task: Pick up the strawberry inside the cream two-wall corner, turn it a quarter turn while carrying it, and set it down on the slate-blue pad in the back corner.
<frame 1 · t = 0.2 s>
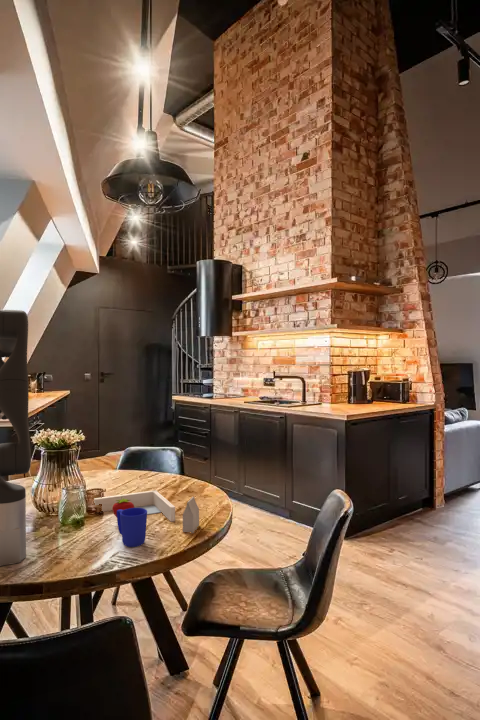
hand: (7, 435, 174), 29 cm above the table, tool pointing down, fingers open, 8 cm apart
strawberry: (123, 524, 163), on the table
grey house-shaped block: (191, 529, 157), on the table
corner arena: (133, 516, 171), on the table
mug: (130, 543, 146), on the table
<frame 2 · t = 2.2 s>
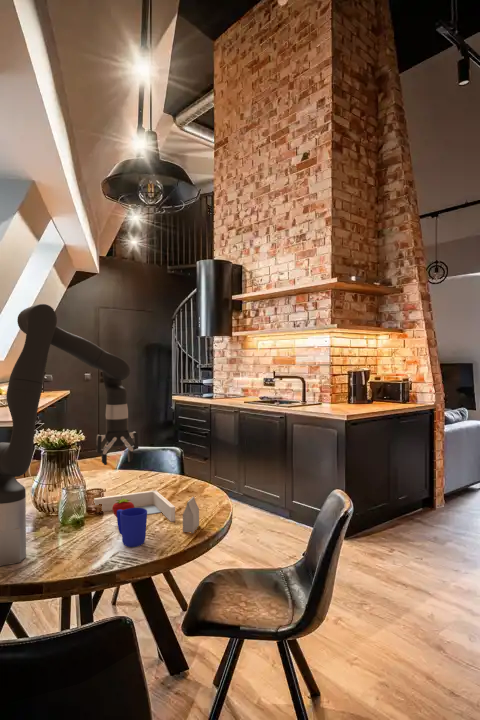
hand: (117, 463, 164), 21 cm above the table, tool pointing down, fingers open, 8 cm apart
nothing on the table moved.
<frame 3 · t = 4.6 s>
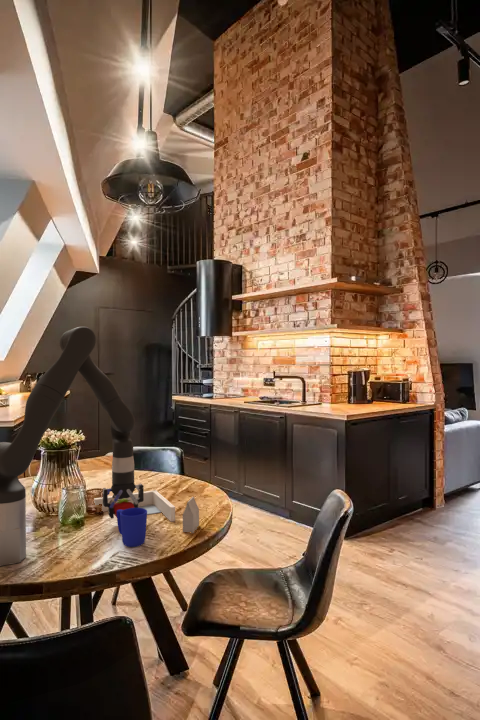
hand: (123, 516, 163), 3 cm above the table, tool pointing down, fingers closed on strawberry, 7 cm apart
strawberry: (123, 524, 163), on the table, touching gripper
everything else where it was.
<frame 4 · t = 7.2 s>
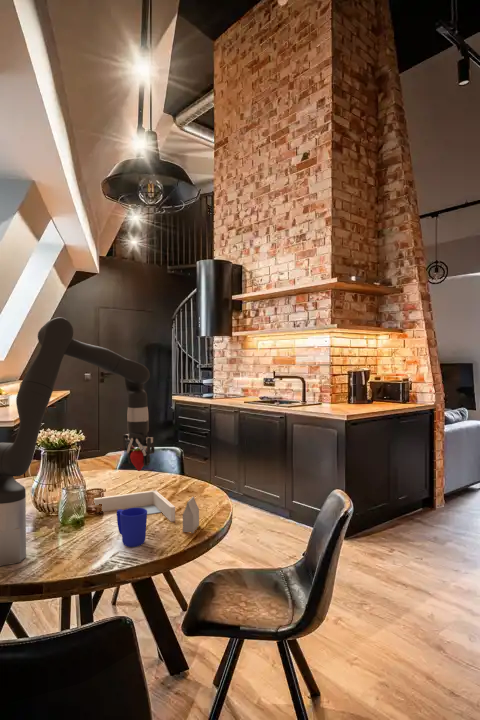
hand: (138, 464, 171), 19 cm above the table, tool pointing down, fingers closed on strawberry, 7 cm apart
strawberry: (138, 471, 171), point 16 cm above the table, touching gripper
everything else where it was.
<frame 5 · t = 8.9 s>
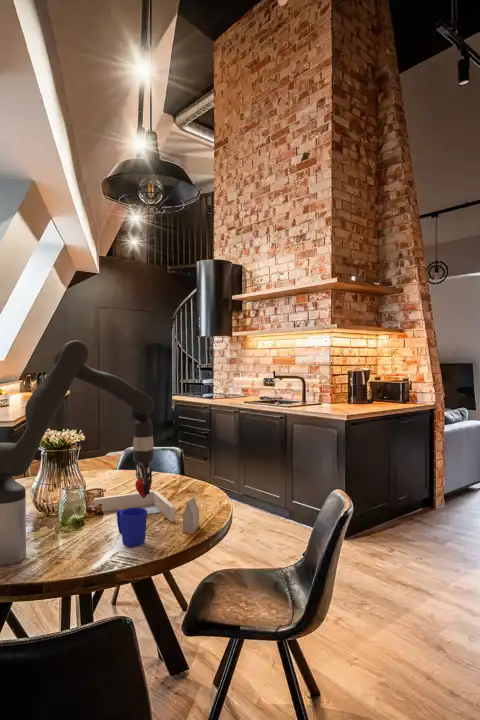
hand: (143, 491, 177), 7 cm above the table, tool pointing down, fingers closed on strawberry, 7 cm apart
strawberry: (143, 498, 177), point 5 cm above the table, touching gripper
everything else where it was.
when the fingers open (4 cm above the table, at t = 10.2 s): strawberry drops 1 cm, resting on corner arena.
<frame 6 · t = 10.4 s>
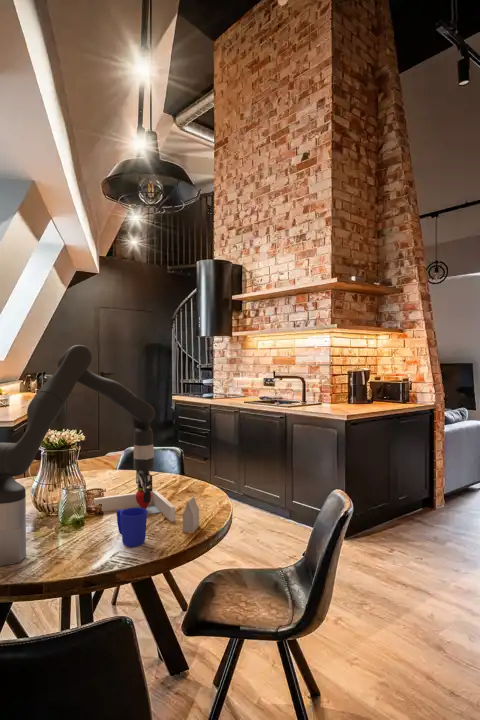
hand: (144, 499, 176), 4 cm above the table, tool pointing down, fingers open, 8 cm apart
strawberry: (143, 510, 176), resting on corner arena
everything else where it was.
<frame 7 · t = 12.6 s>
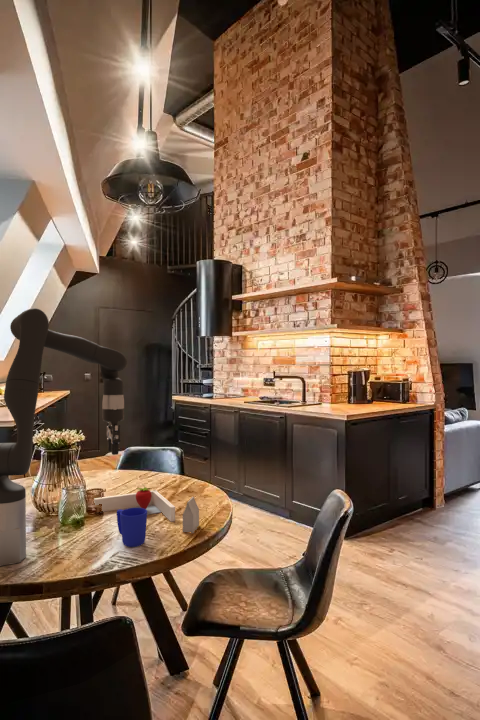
hand: (113, 452, 168), 24 cm above the table, tool pointing down, fingers open, 8 cm apart
nothing on the table moved.
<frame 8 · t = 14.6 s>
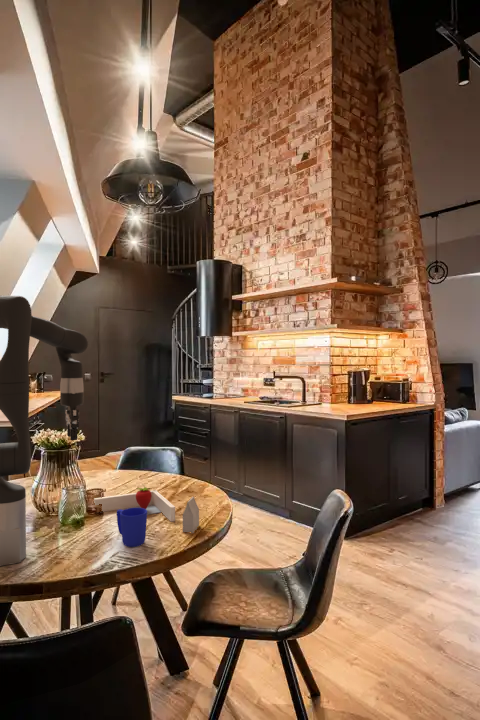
hand: (72, 438, 161), 30 cm above the table, tool pointing down, fingers open, 8 cm apart
nothing on the table moved.
at the end: strawberry 0.3 cm from the target spot on the corner arena, point 0.1 cm above the corner arena's base; strawberry tilted 0°; the gripper is holding nothing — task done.
